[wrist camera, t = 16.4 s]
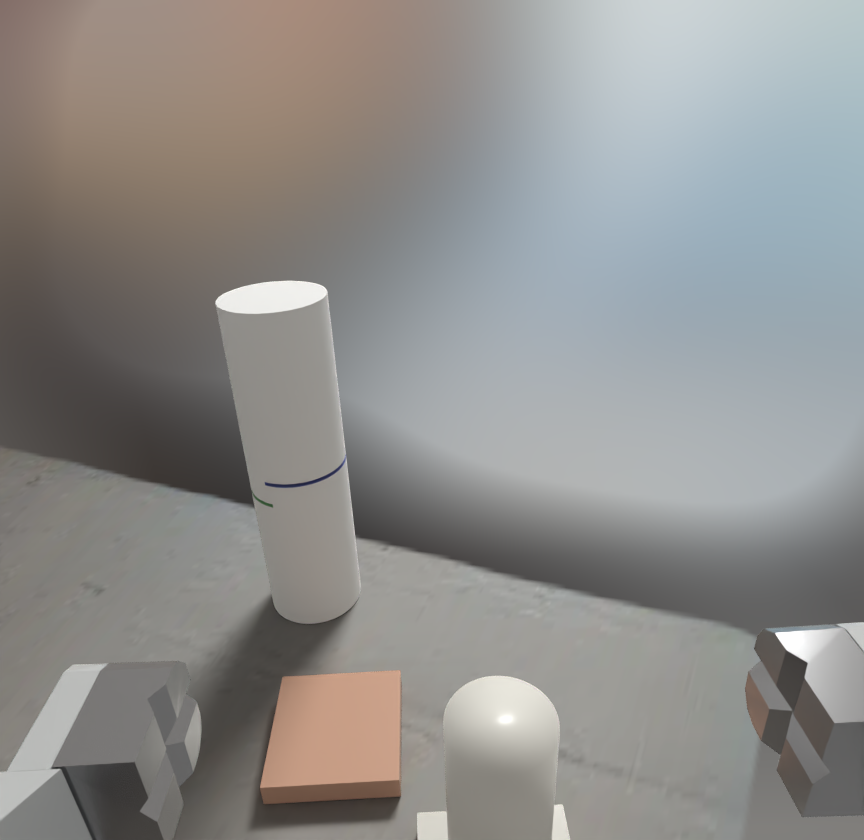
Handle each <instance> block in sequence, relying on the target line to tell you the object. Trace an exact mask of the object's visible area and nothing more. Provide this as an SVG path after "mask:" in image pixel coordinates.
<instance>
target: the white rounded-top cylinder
mask: <svg viewBox="0 0 864 840" xmlns="http://www.w3.org/2000/svg"><path fill="white" fill-rule="evenodd" d="M443 732H444V757H445V781H446V805H447V829H448V840H552V829H553V815H554V802H555V789H556V775H557V762H558V749H559V735H560V724H559V718H558V715H557V712H556V710H555V708H554V706H553V704H552V703H551V701H550V700H549V699H548V698H547V696H546V695H545V694H544V693H542V692H541V691H540V690H539V689H537V688H536V687H535V686H533V685H531V684H529V683H527V682H525V681H523V680H520V679H517V678H513V677H507V676H489V677H483V678H479V679H476V680H474V681H471V682H469V683H467V684H466V685H464V686H463V687H461V688H460V689H459V690H458V691H457V692H456V693H455V694H454V695H453V696H452V697H451V699H450V700H449V702H448V704H447V706H446V709H445V712H444V717H443Z"/></svg>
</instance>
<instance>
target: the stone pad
mask: <svg viewBox="0 0 864 840" xmlns="http://www.w3.org/2000/svg"><path fill="white" fill-rule="evenodd" d="M417 833H418V840H448V829H447V811H441V812H424V813H417ZM552 840H570V837H569V832H568V828H567V823H566V818H565V814H564V809H563V805H554V815H553V829H552Z"/></svg>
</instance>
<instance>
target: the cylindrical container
mask: <svg viewBox="0 0 864 840" xmlns="http://www.w3.org/2000/svg"><path fill="white" fill-rule="evenodd" d="M216 309H217V314H218V319H219V325H220V330H221V334H222V340H223V345H224V350H225V355H226V361H227V366H228V371H229V376H230V381H231V386H232V392H233V396H234V402H235V407H236V412H237V417H238V423H239V428H240V433H241V438H242V443H243V448H244V453H245V458H246V464H247V469H248V474H249V479H250V485H251V489H252V494H253V500H254V505H255V510H256V516H257V521H258V526H259V531H260V536H261V541H262V547H263V552H264V557H265V562H266V567H267V573H268V578H269V583H270V588H271V593H272V598H273V604H274V606H275V609H276V610H277V612H278V613H279V614H280V615H281V616H283V617H284V618H285V619H288V620H290V621H292V622H297V623H303V624H314V623H321V622H326V621H329V620H332V619H335V618H337V617H339V616H340V615H342V614H344V613H345V612H347V611H348V610H349V609H350V608H351V607H352V606H353V605H354V604H355V603H356V601H357V600H358V598H359V595H360V592H361V583H360V575H359V566H358V557H357V548H356V539H355V531H354V522H353V513H352V505H351V495H350V487H349V478H348V469H347V460H346V452H345V443H344V435H343V425H342V416H341V408H340V399H339V390H338V382H337V373H336V364H335V355H334V347H333V338H332V330H331V320H330V312H329V302H328V293H327V290H326V288H324V287H323V286H321V285H319V284H315V283H311V282H303V281H275V282H265V283H259V284H253V285H249V286H244V287H240V288H237V289H234V290H231V291H229V292H227V293H225V294H223V295H221V296H220V297H218V299H217V300H216Z"/></svg>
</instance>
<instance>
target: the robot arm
mask: <svg viewBox="0 0 864 840" xmlns="http://www.w3.org/2000/svg"><path fill="white" fill-rule="evenodd" d="M754 649H755V651H756V653H757V655H758V656H759V658H760V660H761V661H760V662H759V663H758V664H756V665H755V666H754V667H753V668H752V669H751V670H750V671H749V672H748V677H747V682H746V687H745V692H746V701H747V709H748V712H749V715H750V718H751V721H752V724H753V726H754V728H755V730H756V732H757V734H758V736H759V738H760V740H761V741H762V742H763V743H765V744H766V745H768V746H769V747H771V748H772V749H773V750H774V751H776V752H777V753H778V754H780V758H779V762H778V767H777V772H778V774H779V775H780V777H781V779H782V781H783V783H784V785H785V786H786V788H787V790H788V792H789V794H790V796H791V798H792V799H793V801H794V803H795V805H796V807H797V809H798V811H799V813H800V814H801V816H802V817H826V816H859V815H861V816H862V815H864V622H862V623H846V624H835V625H830V624H828V625H812V626H797V627H782V628H767V629H763V630H762V631H761V632H760V633H759V635H758V636H757V640H756V644H755V647H754ZM190 680H191V679H190V676H189V673H188V670H187V667H186V664H185V663H184V662H180V661H161V662H126V663H109V664H80V665H72V666H71V667H70V668H68V669H67V670H66V671H65V672H64V673H63V674H62V675H61V677H60V679H59V680H58V682H57V684H56V686H55V687H54V689H53V691H52V692H51V694H50V696H49V698H48V699H47V701H46V703H45V705H44V706H43V708H42V710H41V712H40V713H39V715H38V717H37V718H36V720H35V722H34V724H33V725H32V727H31V729H30V731H29V732H28V734H27V736H26V737H25V739H24V741H23V743H22V744H21V746H20V748H19V750H18V751H17V753H16V755H15V757H14V758H13V760H12V762H11V763H10V765H9V767H8V769H7V770H6V771H5V772H0V840H173V838H174V835H175V831H176V828H177V825H178V822H179V818H180V815H181V812H182V809H183V805H184V802H183V799H182V796H181V793H180V790H179V787H180V786H181V785H182V784H183V783H184V782H185V781H186V780H187V779H188V778H189V777H190V776H191V775H192V774H193V773H194V769H195V766H196V762H197V759H198V755H199V750H200V741H201V732H202V728H201V715H200V711H199V707H198V703H197V701H195V700H194V699H193V698H191V697H190V696H189V695H187V694H186V692H187V689H188V686H189V683H190Z"/></svg>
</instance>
